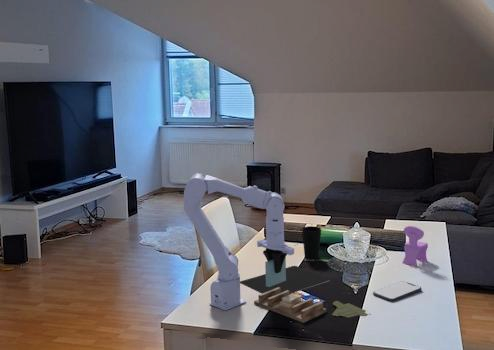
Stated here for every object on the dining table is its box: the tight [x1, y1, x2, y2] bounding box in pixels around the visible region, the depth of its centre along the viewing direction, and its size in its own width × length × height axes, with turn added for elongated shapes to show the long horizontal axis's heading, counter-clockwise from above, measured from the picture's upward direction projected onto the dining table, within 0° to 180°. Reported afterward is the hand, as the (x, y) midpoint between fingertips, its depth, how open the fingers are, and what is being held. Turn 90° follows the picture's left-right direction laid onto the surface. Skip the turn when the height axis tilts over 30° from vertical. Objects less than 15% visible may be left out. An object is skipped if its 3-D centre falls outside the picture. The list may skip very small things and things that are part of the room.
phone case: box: [372, 281, 422, 303], centre depth 195 cm, size 9×2×16 cm
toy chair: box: [401, 225, 429, 267], centre depth 224 cm, size 8×9×15 cm
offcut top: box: [282, 293, 302, 304], centre depth 185 cm, size 5×4×1 cm
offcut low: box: [280, 299, 304, 309], centre depth 184 cm, size 6×4×1 cm
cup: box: [301, 226, 322, 261], centre depth 232 cm, size 8×8×12 cm
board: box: [264, 256, 287, 287], centre depth 188 cm, size 8×2×8 cm, turn 134°
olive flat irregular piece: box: [331, 300, 372, 318], centre depth 179 cm, size 11×18×1 cm, turn 36°
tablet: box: [240, 265, 331, 294], centre depth 208 cm, size 27×1×20 cm
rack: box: [253, 287, 328, 324], centre depth 184 cm, size 11×21×3 cm, turn 44°
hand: (275, 271), depth 188 cm, fingers closed on board, 1 cm apart
